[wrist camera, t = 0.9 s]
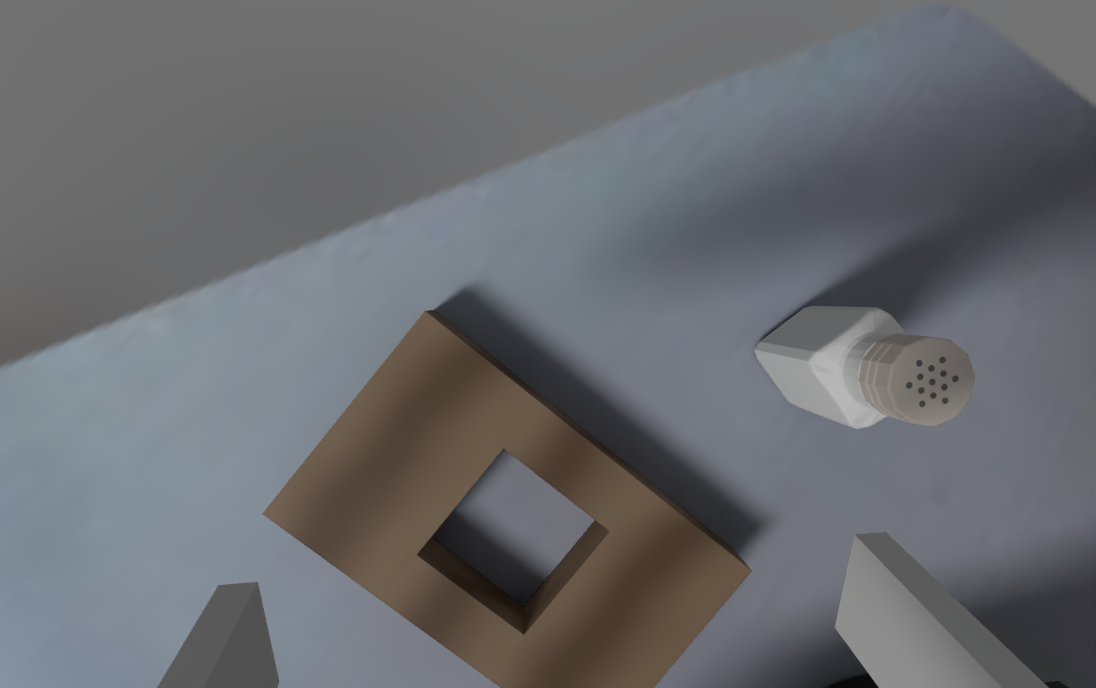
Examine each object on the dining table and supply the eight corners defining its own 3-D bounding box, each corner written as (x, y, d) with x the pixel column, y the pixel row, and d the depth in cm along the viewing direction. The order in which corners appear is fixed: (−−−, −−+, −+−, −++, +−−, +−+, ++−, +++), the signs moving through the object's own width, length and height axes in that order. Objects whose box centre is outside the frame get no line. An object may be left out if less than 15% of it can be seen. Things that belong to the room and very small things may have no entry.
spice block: (732, 548, 30) (751, 570, 27) (589, 718, 30) (595, 756, 28) (433, 310, 28) (425, 311, 25) (284, 495, 28) (262, 513, 26)
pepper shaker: (850, 361, 29) (1008, 392, 20) (789, 408, 29) (917, 460, 20) (807, 300, 29) (947, 301, 20) (745, 348, 29) (855, 371, 20)
